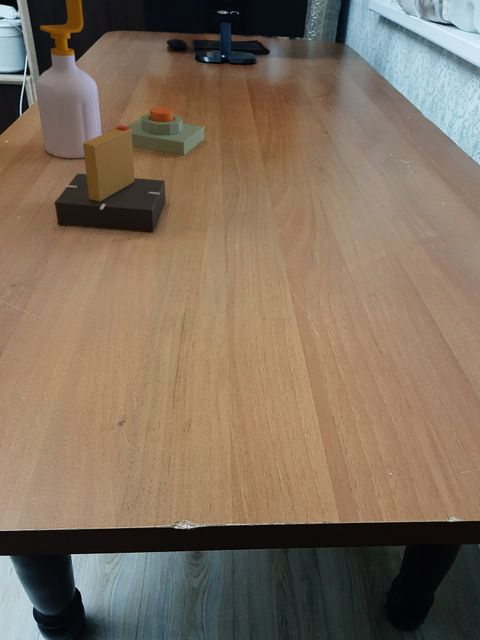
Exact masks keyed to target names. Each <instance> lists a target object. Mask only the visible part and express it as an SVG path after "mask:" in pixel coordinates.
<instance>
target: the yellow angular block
mask: <svg viewBox="0 0 480 640" xmlns="http://www.w3.org/2000/svg"><path fill="white" fill-rule="evenodd" d="M127 126H128V125H118V126H115V127H116V128H114V129H112V130H110V131H108V132H105V133H103V134H102V135H100V136H98V137H96V138H93V139H91V140H89V141H86V142H84V143H83V149H84V158H83V159H84V166H85V174H86V175H87V184H88V193H89V199H91V200H94V201H98V202H100V201H102V200H104V199H105V198H107V197H109V196H111V195H112V194H114V193H116V192H118V191H119V190H121V189H123V188H125V187H126V186H128V185H130V184H131V183H133V182H134V178H135V169H134V167H135V165H134V153H133V152H134V151H133V147H132V134H131V129H129V127H127Z"/></svg>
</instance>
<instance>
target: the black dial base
mask: <svg viewBox="0 0 480 640" xmlns="http://www.w3.org/2000/svg"><path fill="white" fill-rule="evenodd" d="M165 203H166V181H165V180H162V179H151V178H149V179H148V178H139V177H134V182H133V183H131V184H130V185H128V186H126V187H125V188H123V189H121V190H119V191H118V192H116V193H114V194H112V195H111V196H109V197H107V198H105V199H104V200H102V201H100V202H98V201H94V200H91V199H89V193H88V184H87V175H86V173H77V174H76V175H75V176H74V177H73V178H72V180H71V181H70V182H69V184H68V185H67V184H66V185H65V189H64V190H63V191H62V193H61V194H60V195H59V196H58V198H57V199H56V200H55V201H54V206H55V213H56V220H57V225H58V226H59V225H60V226H71V227H83V228H84V227H87V228H98V229H109V230H123V231H134V232H148V233H154V230H155V228H156V225H157V224H158V221H159V218H160V216H161V213H162V211H163V208H164V205H165Z"/></svg>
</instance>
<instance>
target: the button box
mask: <svg viewBox="0 0 480 640" xmlns="http://www.w3.org/2000/svg"><path fill="white" fill-rule="evenodd" d="M173 114H174V113H173ZM126 126H127V127H129V129H131V134H132V148H137V149H143V150H150V151H155V152H161V153H165V154H172V155H179V156H185V155H186V154H188V153H189V152H190V151H191V150H192V149H194V148H195V147H196V146H198V145H199V144H200V143H201V142H203V140H205V126H202V125H195V124H189V123H184V121H183V118H182V116H180V115H177V114H176V113H175V114H174V121H171V122H155V121H152V120H150V112H149V113H145V114H143V115H142V116H140V118H138V119H136V120H134V121H133V122H131V123H129V124H128V125H126Z"/></svg>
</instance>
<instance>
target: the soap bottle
mask: <svg viewBox="0 0 480 640" xmlns="http://www.w3.org/2000/svg"><path fill="white" fill-rule="evenodd" d="M65 3H66V12H67V21H66V23H65V24H52V25H51V24H49V25H48V24H47V25H46V24H45V25H40V26H39V28H40V31H43V32H46V33H49V34H50V38H51V39H54V43H55V47H52V48H50V56H51V66H50V67H49V68H48V69H47V70H45V71H43V72H42V73H41V74H40V76H38V78H37V80H36V84H35V93H36V99H37V105H38V113H39V119H40V125H41V131H42V137H43V138H42V139H43V145H44V150H45V151H46V152H47V153H48V154H49V155H52V156H53V157H58V158H60V159H61V158H62V159H72V160H73V159H75V160H76V159H85V158H84V149H83V143H84V142H86V141H89V140H91V139H93V138H96V137H98V136H100V135H103V134H102V124H101V112H100V103H99V94H98V93H99V92H98V85H97V84H96V81H95V79H93V78H92V77H91V76H90V75H89V74H88V73H87V72H85V71H83V70H82V69H80V68H79V67H77V64H76V57H75V56H76V55H75V50H74V49H73V48H69V47H68V40H69V39H71V34H73V33H75V34H76V33H80V32H81V31H82V30H83V29H84V15H83V5H82V0H65Z"/></svg>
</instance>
